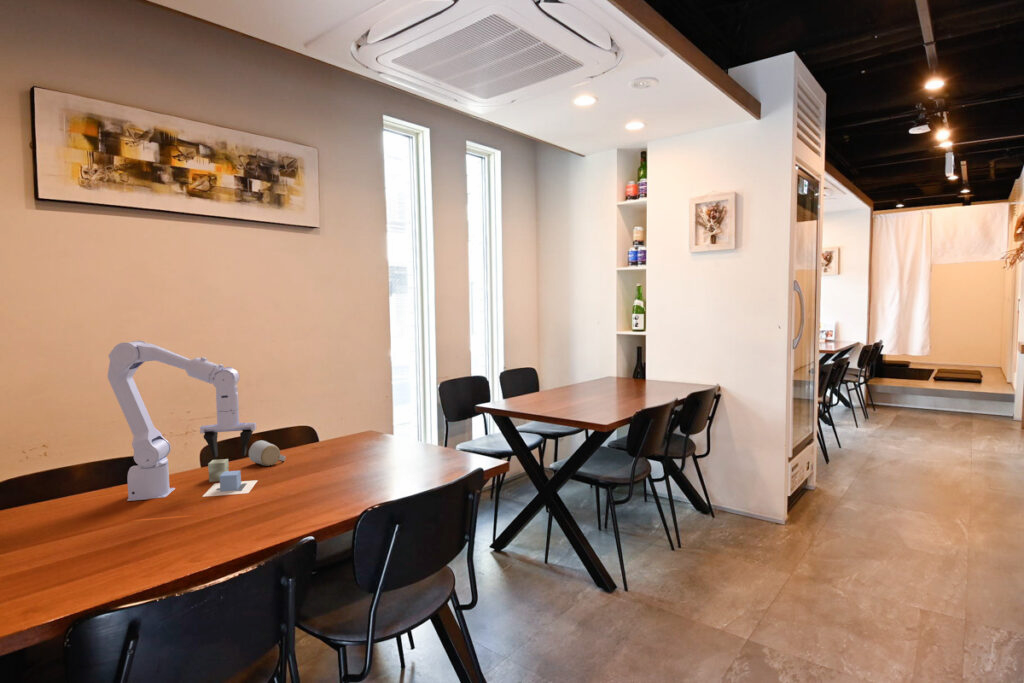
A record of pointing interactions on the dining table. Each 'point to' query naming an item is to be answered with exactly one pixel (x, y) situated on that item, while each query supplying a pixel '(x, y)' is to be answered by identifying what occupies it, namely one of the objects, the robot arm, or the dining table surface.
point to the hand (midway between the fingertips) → (229, 456)
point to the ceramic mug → (265, 453)
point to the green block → (217, 469)
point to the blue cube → (230, 480)
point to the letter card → (244, 488)
